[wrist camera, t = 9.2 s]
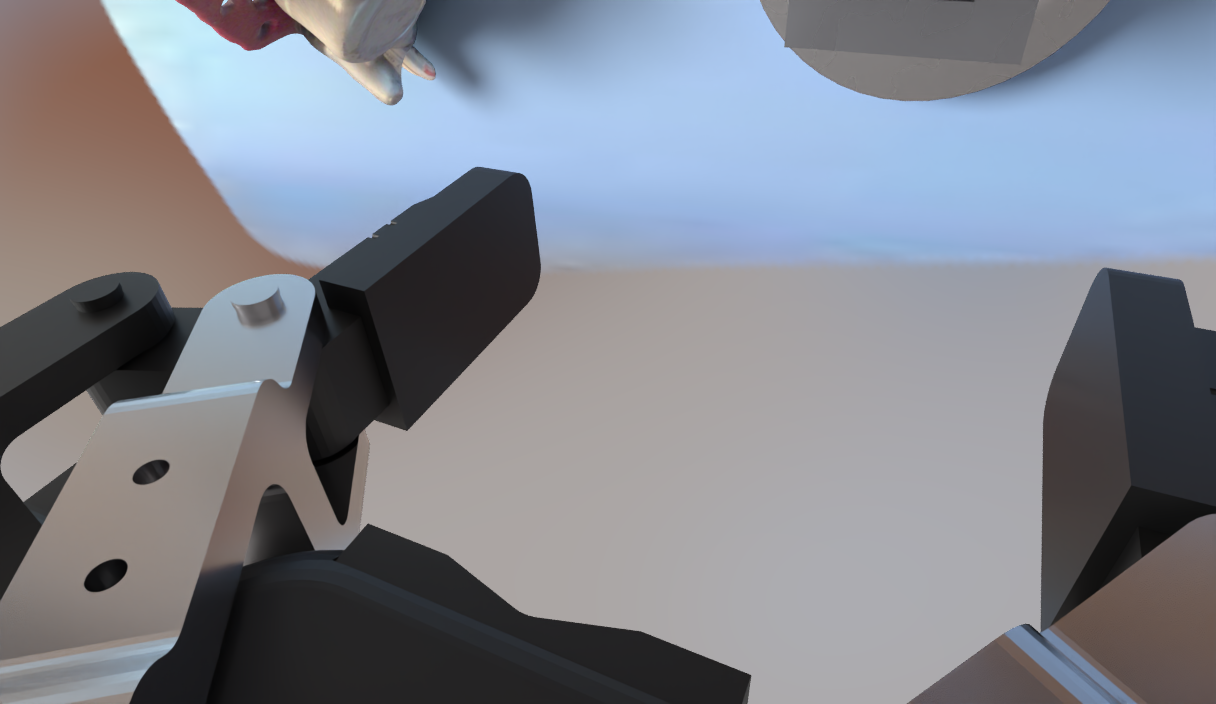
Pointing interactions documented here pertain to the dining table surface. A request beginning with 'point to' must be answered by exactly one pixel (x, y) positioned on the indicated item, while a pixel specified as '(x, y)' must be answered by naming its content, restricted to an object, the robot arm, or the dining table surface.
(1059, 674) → the robot arm
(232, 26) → the brake caliper
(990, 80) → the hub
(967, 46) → the square socket block
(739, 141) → the dining table surface
